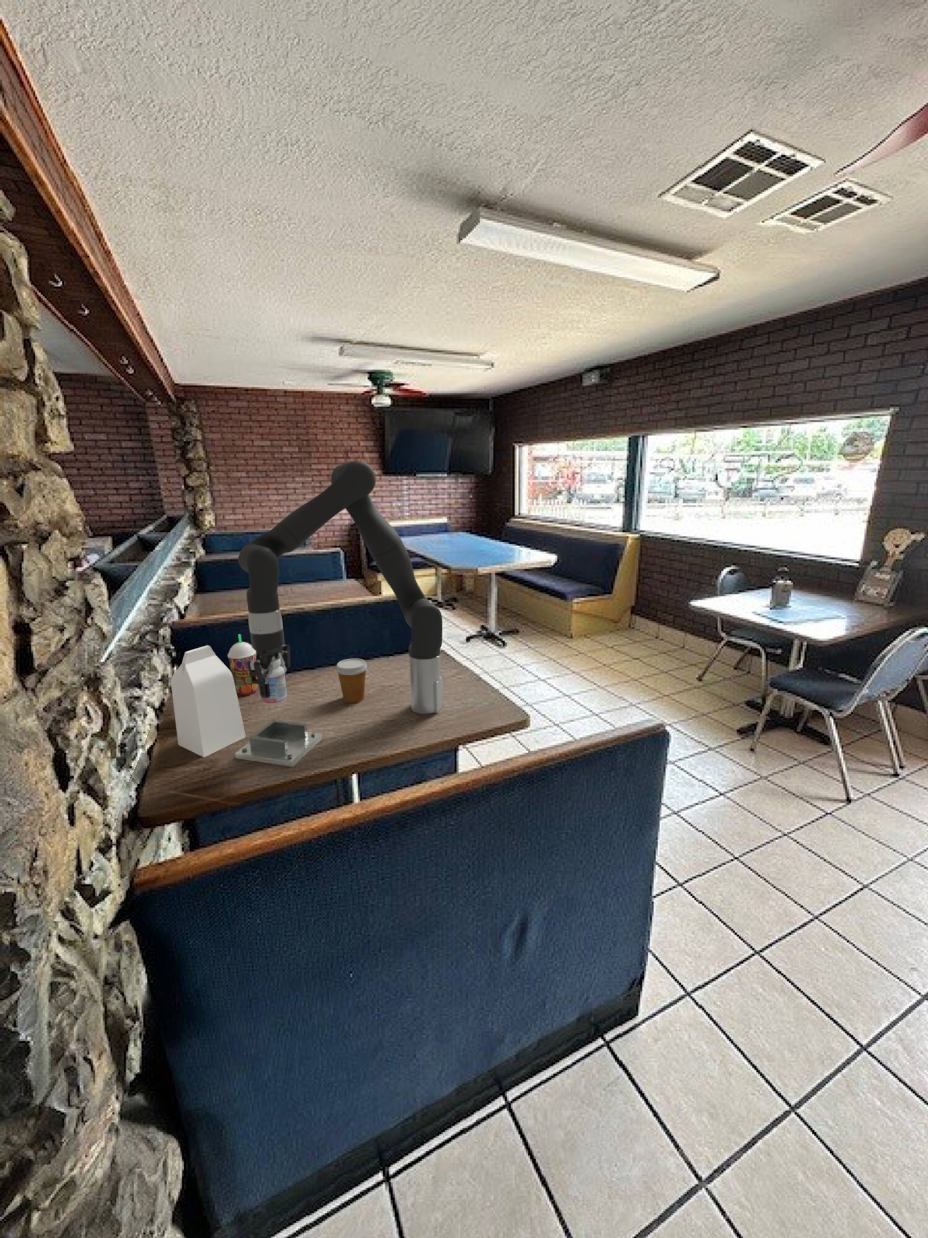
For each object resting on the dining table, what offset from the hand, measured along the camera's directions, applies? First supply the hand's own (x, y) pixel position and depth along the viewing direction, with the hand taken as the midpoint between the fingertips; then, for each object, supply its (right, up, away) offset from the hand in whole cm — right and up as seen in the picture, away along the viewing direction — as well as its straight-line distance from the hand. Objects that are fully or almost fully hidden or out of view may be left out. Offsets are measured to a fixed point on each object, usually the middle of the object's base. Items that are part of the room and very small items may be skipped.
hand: (274, 691), depth 128 cm
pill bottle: (0, -3, +1) cm, 3 cm away
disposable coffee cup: (+13, -7, +33) cm, 36 cm away
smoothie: (-23, -6, +38) cm, 45 cm away
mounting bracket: (0, -15, +4) cm, 16 cm away
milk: (-20, -15, +8) cm, 26 cm away
